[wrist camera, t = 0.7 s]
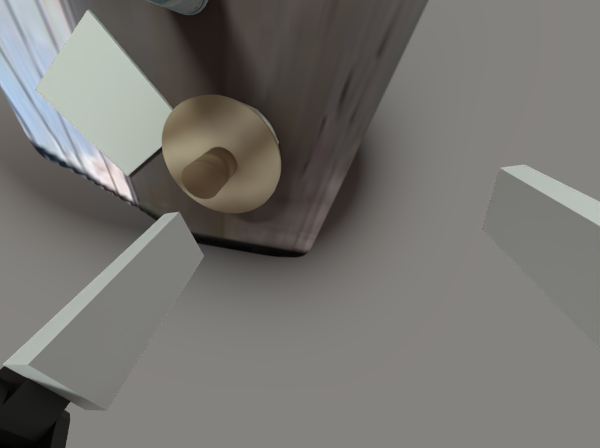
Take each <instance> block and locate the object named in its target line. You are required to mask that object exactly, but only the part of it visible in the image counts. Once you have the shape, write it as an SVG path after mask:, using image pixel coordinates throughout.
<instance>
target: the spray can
mask: <svg viewBox="0 0 600 448" xmlns="http://www.w3.org/2000/svg"><path fill="white" fill-rule="evenodd" d="M144 1H147V2H150V3H153V4H155V5H158V6H161V7H164V8H167V9H169V10H172V11H175V12H178V13H181V14H184V15H194V14H197V13H199V12H201V11H202V10H203V9H204V7H205V6H206V4H207V2H208V0H144Z"/></svg>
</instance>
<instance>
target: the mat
mask: <svg viewBox="0 0 600 448" xmlns="http://www.w3.org/2000/svg"><path fill="white" fill-rule="evenodd" d="M35 90H36V91H37V92H38V93H39V94H40V95H41V96H42V97H43V98H44V99H45V100H46V101H47V102H48V103H50V104H51V105H52V106H53V107H54V108H55V109H56V110H57V111H58V112H59V113H60V114H61V115H62V116H63V117H65V118H66V119H67V120H68V121H69V122H70V123H71V124H72V125H73V126H74V127H75V128H76V129H77V130H78V131H79V132H81V133H82V134H83V135H84V136H85V137H86V138H87V139H88V140H89V141H90V142H91V143H92V144H93V145H94V146H96V147H97V148H98V149H99V150H100V151H101V152H102V153H103V154H104V155H105V156H106V157H107V158H108V159H109V160H111V161H112V162H113V163H114V164H115V165H116V166H117V167H118V168H119V169H120V170H121V171H122V172H123V173H124V174H125V175H127V176H128V175H130V174H131V173H132V172H133V171H134V170H136V169H137V168H138V167H139V166H140V165H141V164H142V163H144V162H145V161H146V160H147V159H148V158H149V157H151V156H152V155H153V154H154V153H155V152H156V151H157V150H159V149H160V148H161V147H162V132H163V128H164V125H165V122H166V119H167V118H168V116H169V114H170V113H171V112H172V111H173V108H172V107H171V106H170V104H169V103H168V102H167V101H166V100H165V98H164V97H163V96H162V95H161V94H160V92H159V91H158V90H157V89H156V88H155V86H154V85H153V84H152V83H151V82H150V80H149V79H148V78H147V77H146V76H145V74H144V73H143V72H142V71H141V70H140V68H139V67H138V66H137V65H136V64H135V62H134V61H133V60H132V59H131V58H130V56H129V55H128V54H127V53H126V52H125V50H124V49H123V48H122V47H121V46H120V44H119V43H118V42H117V41H116V40H115V38H114V37H113V36H112V35H111V34H110V32H109V31H108V30H107V29H106V28H105V26H104V25H103V24H102V23H101V22H100V20H99V19H98V18H97V17H96V16H95V14H94V13H93V12H92V11H91V10H87V12H86V13H85V15H84V16H83V18H82V19H81V21H80V22H79V24H78V25H77V27H76V28H75V30H74V31H73V33H72V34H71V36H70V37H69V39H68V40H67V42H66V43H65V45H64V46H63V48H62V49H61V51H60V52H59V54H58V55H57V57H56V58H55V60H54V61H53V63H52V65H51V66H50V68H49V69H48V71H47V72H46V74H45V75H44V77H43V78H42V80H41V81H40V83H39V84H38V86H37V87H36V89H35Z"/></svg>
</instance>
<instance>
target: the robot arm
mask: <svg viewBox="0 0 600 448" xmlns="http://www.w3.org/2000/svg"><path fill="white" fill-rule="evenodd" d="M482 230H483V231H484V232H485V233H486V234H487V235H488V236H489V237H490V238H491V239H492V240H493V241H494V242H495V243H496V244H497V246H498V247H499V248H500V249H501V250H502V251H503V252H504V253H505V254H506V255H507V256H508V257H509V258H510V259H511V260H512V261H513V262H514V263H515V264H516V265H517V266H518V267H519V268H520V269H521V270H522V271H523V273H524V274H525V275H526V276H527V277H528V278H529V279H530V280H531V281H532V282H533V283H534V284H535V285H536V286H537V287H538V288H539V289H540V290H541V291H542V292H543V293H544V294H545V295H546V296H547V297H548V298H549V299H550V300H551V302H552V303H553V304H554V305H555V306H556V307H557V308H558V309H559V310H560V311H561V312H562V313H563V314H564V315H565V316H566V317H567V318H568V319H569V320H570V321H571V322H572V323H573V324H574V325H575V326H576V327H577V329H578V330H580V332H581V333H582V334H583V335H584V336H585V337H586V338H587V339H588V340H589V341H590V342H591V343H592V344H593V345H594V346H595V347H596V348H597V349H598V350H599V351H600V202H599V201H597V200H595V199H593V198H591V197H589V196H587V195H585V194H583V193H581V192H579V191H577V190H575V189H573V188H570V187H569V186H567V185H564V184H563V183H560V182H559V181H557V180H555V179H552V178H550V177H548V176H546V175H544V174H542V173H540V172H538V171H536V170H534V169H532V168H530V167H528V166H526V165H518V166H511V167H504V168H500V170H499V173H498V176H497V180H496V183H495V186H494V190H493V193H492V197H491V200H490V203H489V207H488V210H487V214H486V217H485V220H484V224H483V228H482ZM203 257H204V255H203V253H202V252H201V250H200V248H199V246H198V244H197V243H196V241H195V239H194V237H193V236H192V234H191V232H190V230H189V229H188V227H187V225H186V223H185V221H184V220H183V218H182V216H181V214H180V213H179V212H175V213H168V214H164V215H163V216H162V217H161V218H160V219H159V220H158V221H157V222H156V223H154V224H153V225H152V226H151V227H150V228H149V229H148V230H147V231H146V232H145V233H144V234H143V235H142V236H140V237H139V238H138V239H137V240H136V241H135V242H134V243H133V244H132V245H131V246H130V247H129V248H128V249H126V250H125V251H124V252H123V253H122V254H121V255H120V256H119V257H118V258H117V259H116V260H115V261H114V262H112V264H110V265H109V266H108V267H107V268H106V269H105V270H104V271H103V272H102V273H101V274H100V275H99V276H97V277H96V278H95V279H94V280H93V281H92V282H91V283H90V284H89V285H88V286H87V287H86V288H85V289H83V290H82V291H81V292H80V293H79V294H78V295H77V296H76V297H75V298H74V299H73V300H72V301H71V302H70V303H68V305H66V306H65V307H64V308H63V309H62V310H61V311H60V312H59V313H58V314H57V315H55V316H54V317H53V318H52V319H51V320H50V321H49V322H48V323H47V324H46V325H45V326H44V327H43V328H42V329H40V330H39V331H38V332H37V333H36V334H35V335H34V336H33V337H32V338H31V339H30V340H29V341H28V342H26V343H25V344H24V345H23V346H22V347H21V348H20V349H19V350H18V351H17V352H16V353H15V354H14V355H12V357H10V358H9V359H8V360H7V361H6V362H5V363H4V364H3V365H4V367H3V368H2V369H1V370H0V448H65V446H66V440H67V435H68V429H69V424H70V414H69V413H68V412H67V411H66V410H64V409H65V408H66V407H67V405H68V404H69V403H70V402H72V403H74V404H76V405H78V406H80V407H82V408H83V409H85V410H107V409H108V408H109V406H110V404H111V403H112V401H113V399H114V398H115V396H116V395H117V393H118V392H119V390H120V389H121V387H122V385H123V384H124V382H125V381H126V379H127V377H128V376H129V374H130V373H131V371H132V369H133V368H134V366H135V365H136V363H137V362H138V360H139V358H140V357H141V355H142V354H143V352H144V350H145V349H146V347H147V346H148V344H149V342H150V341H151V339H152V338H153V336H154V335H155V333H156V331H157V330H158V328H159V327H160V325H161V323H162V322H163V320H164V319H165V317H166V315H167V314H168V312H169V311H170V309H171V308H172V306H173V304H174V303H175V301H176V300H177V298H178V297H179V295H180V293H181V292H182V290H183V289H184V287H185V285H186V284H187V282H188V281H189V279H190V277H191V276H192V274H193V273H194V271H195V270H196V268H197V266H198V265H199V263H200V262H201V260H202V258H203Z"/></svg>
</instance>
